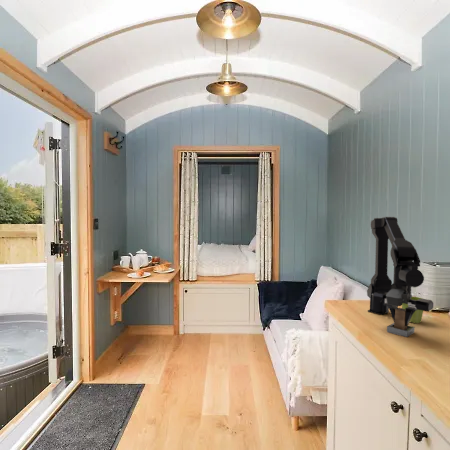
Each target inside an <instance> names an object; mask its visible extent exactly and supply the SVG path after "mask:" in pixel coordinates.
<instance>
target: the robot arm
mask: <svg viewBox="0 0 450 450" xmlns="http://www.w3.org/2000/svg"><path fill="white" fill-rule="evenodd" d="M398 223H399V222H398V218H397V217H395V216H383V217H374V218H373V219H372V220H371V221H370V229H371V234H372V235H373V237H374V238H375V258H374V259H375V260H374V261H375V263H374V265H375V267H374V269H375V271H374V272H375V273H374V274H373V276H372V277H371V278H370V283H369V285H368V287H367V290H366V295H367V297H368V298H369V309H368V310H367V312H368V313H369V312H370V313H374V314H378V315H386V314H388V313H390V314H391V318H392V320H393V322H394V321H395V309H397V308H399V307H402V303H404V304H408V307H407V308H405V309H406V318H405V326H407V325H408V326H409V323H410V322H409V321H410V319H411V317H412V315H413V313H414V312H415V311H416V310H423V312H429V311H432V310H433V309H434V301H433V300H431V299H427V298H423V297H419V298H420V299H418V300H412V299H411V298H412V297H413V294H412V288H418V287H420V286H422V284H423V283H424V281H425V276H424V274H423V273H422V271H420V270H419V267H421V260H420V257H419V254H418V252H417V249H416V248H415V246H414V244H413V243H412V242H410V241H409V240H407V239H406V238H405V236H404V233H403V232H402V229H401V227H400V226H399V224H398ZM389 243H390V244H391V249H390V250H389ZM389 251H390V258H391V261H392V263H393V264H392V265H393V266H394V267H393V280H392V279H391V278H390V277H389V274H388V267H389V266H388V263H389V261H388V259H389V257H388V256H389ZM422 298H423V299H422Z"/></svg>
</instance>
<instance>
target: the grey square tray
mask: <svg viewBox="0 0 450 450" xmlns="http://www.w3.org/2000/svg"><path fill="white" fill-rule="evenodd" d="M386 332H387V333H389V334H394V335H398V336H400V337H405V338H408V337H410V336H412V335H413V334H415V326H411V325H409V324H408V325H407V329H406V330H403V329H399V328H394V322H393V323H391V324H389V325H387V326H386Z"/></svg>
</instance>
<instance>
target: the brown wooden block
mask: <svg viewBox="0 0 450 450" xmlns="http://www.w3.org/2000/svg"><path fill="white" fill-rule="evenodd" d="M405 318H406V309H402V307H398V308H397V309H395V321H394V320H393V323H394V328H399V329H403V330H406V329H407V326H405Z"/></svg>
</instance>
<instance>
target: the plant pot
mask: <svg viewBox="0 0 450 450" xmlns="http://www.w3.org/2000/svg"><path fill="white" fill-rule="evenodd" d="M420 298H422V299H424V298H423V297H419V296H412V298H411V299H412V300H418V299H420ZM407 307H408V304H404V303H402V305H401V308H402V309H405V308H407ZM423 314H424V311H423V310H416V311H415V312H414V313H413V315H412V317H411V319H410V321H409V323H413V324H419V323H421V322H422V320H423Z"/></svg>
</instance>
